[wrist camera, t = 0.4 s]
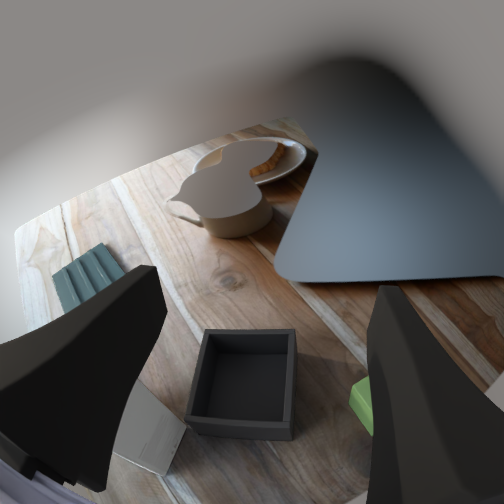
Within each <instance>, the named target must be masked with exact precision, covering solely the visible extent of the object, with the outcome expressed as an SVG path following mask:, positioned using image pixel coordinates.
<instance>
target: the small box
mask: <svg viewBox="0 0 504 504" xmlns="http://www.w3.org/2000/svg"><path fill="white" fill-rule="evenodd" d="M186 427H187V426H186V425H185V424H184V423H183V422H182V421H181V420H180V419H179V418H178V417H177V416H176V415H174V414H173V413H172V412H171V411H170V410H169V409H168V408H167V407H166V406H165V405H164V404H163V403H162V402H161V401H160V400H159V399H158V398H157V397H156V396H155V395H154V394H153V393H152V392H151V391H150V390H149V389H148V388H147V387H146V386H145V385H144V384H143V383H142V382H141V381H140V380H139V379H138V378H137V380H136V382H135V384H134V386H133V389H132V391H131V393H130V395H129V398H128V401H127V404H126V407H125V409H124V412H123V415H122V418H121V422H120V425H119V428H118V432H117V435H116V439H115V443H114V447H113V451H112V453H114V454H116V455H118V456H120V457H122V458H124V459H126V460H128V461H130V462H132V463H134V464H136V465H138V466H140V467H142V468H144V469H146V470H149V471H151V472H153V473H156V474H158V475H161V476H165V475H166V473H167V471H168V469H169V466H170V464H171V462H172V459H173V457H174V455H175V453H176V450H177V448H178V446H179V444H180V441H181V439H182V436H183V434H184V432H185V430H186Z"/></svg>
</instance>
